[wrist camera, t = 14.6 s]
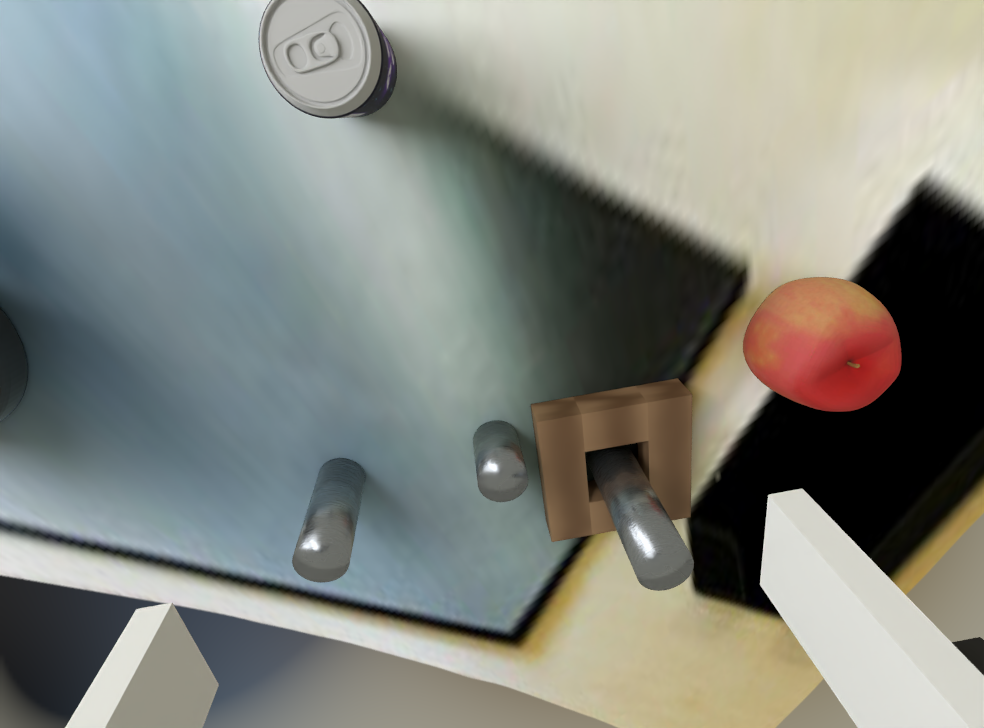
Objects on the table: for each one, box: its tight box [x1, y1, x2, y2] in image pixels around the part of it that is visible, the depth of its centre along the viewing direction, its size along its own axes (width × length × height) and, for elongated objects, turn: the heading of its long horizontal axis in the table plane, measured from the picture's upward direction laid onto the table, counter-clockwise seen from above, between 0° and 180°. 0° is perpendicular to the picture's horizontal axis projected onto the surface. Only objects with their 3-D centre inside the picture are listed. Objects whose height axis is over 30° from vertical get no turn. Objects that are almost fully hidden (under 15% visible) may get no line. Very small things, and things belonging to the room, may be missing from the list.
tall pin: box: [586, 444, 694, 591], centre depth 44 cm, size 4×4×14 cm
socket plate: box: [531, 378, 692, 542], centre depth 48 cm, size 13×13×3 cm
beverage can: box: [259, 0, 397, 118], centre depth 30 cm, size 6×6×12 cm
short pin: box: [473, 421, 528, 502], centre depth 45 cm, size 4×4×6 cm
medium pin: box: [292, 458, 365, 582], centre depth 44 cm, size 4×4×10 cm
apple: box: [743, 277, 901, 411], centre depth 41 cm, size 10×10×10 cm
